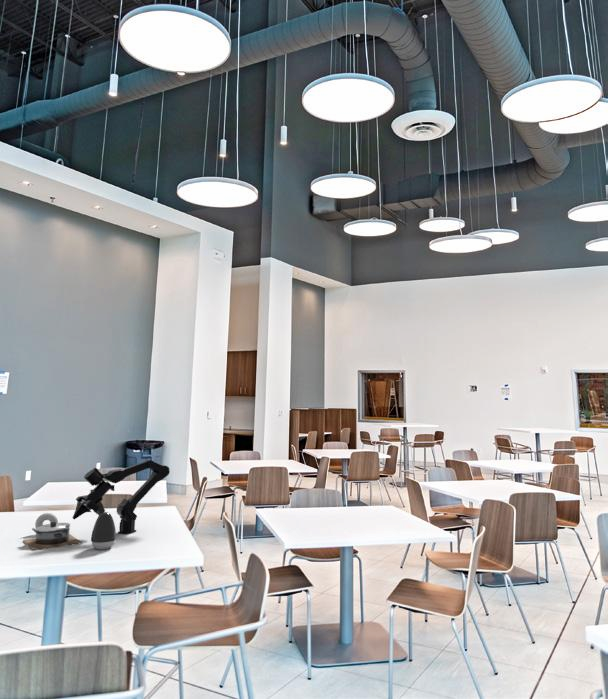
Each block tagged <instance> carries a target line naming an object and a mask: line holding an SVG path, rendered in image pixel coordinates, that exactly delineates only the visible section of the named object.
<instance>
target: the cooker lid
mask: <svg viewBox="0 0 608 699" xmlns="http://www.w3.org/2000/svg"><path fill="white" fill-rule="evenodd" d="M49 522H50V521H49ZM70 527H71V523H69V522H58V523H56V521H52V522H50V523H48V524H43V525H42V526H39V527H37V528H36V527H35V528H34V527H33V528H31V530H32V531H33V532H34V533H35V534H36V533H37V532H53V531H59V530H64V529H67V528H70Z"/></svg>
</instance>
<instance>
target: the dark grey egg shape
mask: <svg viewBox="0 0 608 699" xmlns="http://www.w3.org/2000/svg"><path fill="white" fill-rule="evenodd" d="M97 515H98V517H97V518H96V520H95V522H94V525H93V528H92V530H91V531H92V532H91V538H90V541H91V545H92V546H93V548H94V549H96V550H98V549H100V551H101V549H104V550H107V549H108V550H109V549H110V548H111V547H113V545H114V544H115V541H116V540H117V533H116V532H117V531H116V525H115V522H114V518H113V516H112V515H111V513H110V512H107V511H105V512H103V513H98V514H97Z"/></svg>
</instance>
